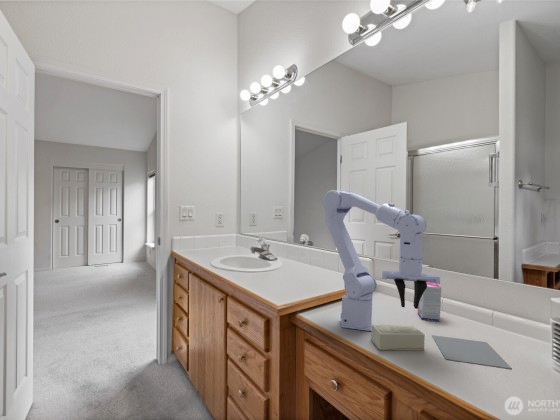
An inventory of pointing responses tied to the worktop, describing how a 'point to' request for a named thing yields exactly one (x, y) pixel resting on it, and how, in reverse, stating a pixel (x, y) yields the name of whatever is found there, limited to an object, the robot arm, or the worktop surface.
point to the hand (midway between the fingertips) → (409, 306)
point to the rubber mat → (469, 351)
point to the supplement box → (430, 303)
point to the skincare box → (397, 337)
